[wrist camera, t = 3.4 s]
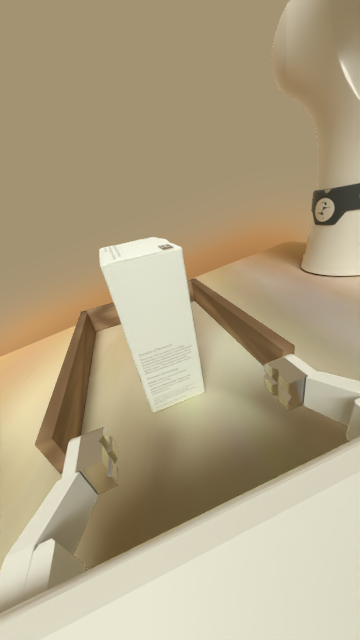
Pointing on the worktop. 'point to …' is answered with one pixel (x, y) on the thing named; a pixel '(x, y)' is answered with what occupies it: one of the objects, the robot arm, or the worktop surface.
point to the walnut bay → (75, 370)
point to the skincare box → (155, 317)
